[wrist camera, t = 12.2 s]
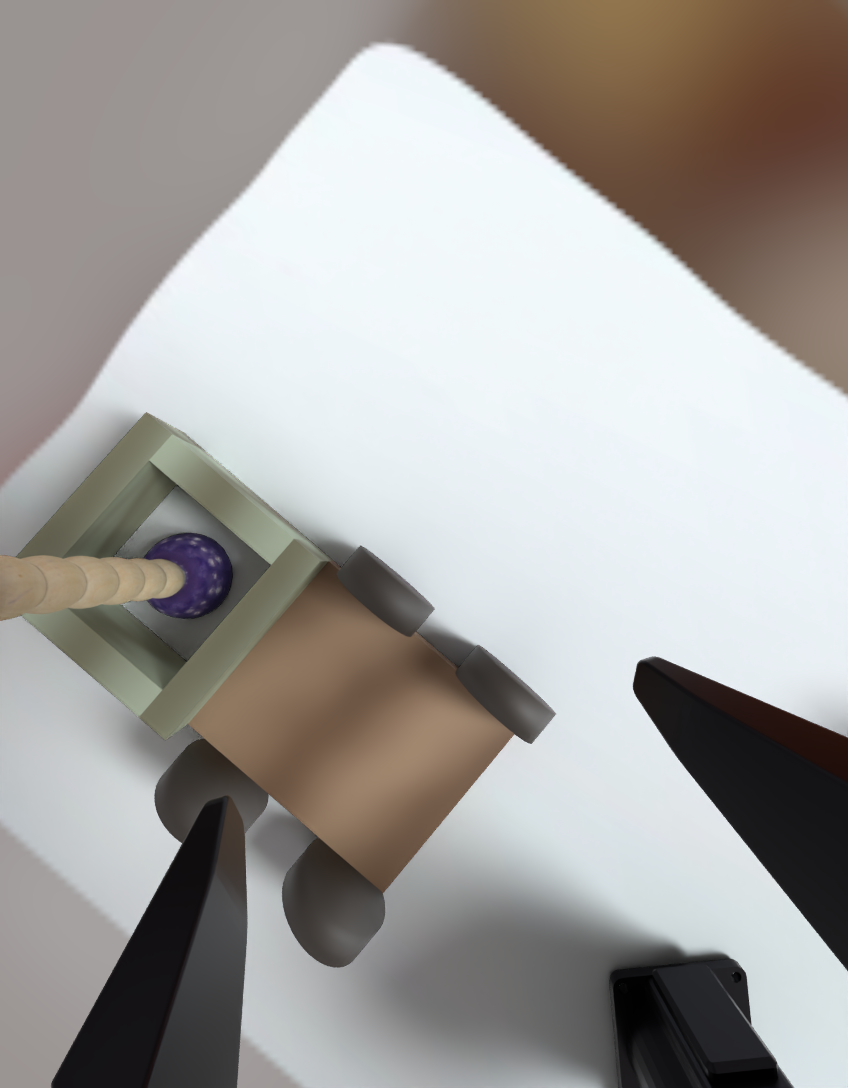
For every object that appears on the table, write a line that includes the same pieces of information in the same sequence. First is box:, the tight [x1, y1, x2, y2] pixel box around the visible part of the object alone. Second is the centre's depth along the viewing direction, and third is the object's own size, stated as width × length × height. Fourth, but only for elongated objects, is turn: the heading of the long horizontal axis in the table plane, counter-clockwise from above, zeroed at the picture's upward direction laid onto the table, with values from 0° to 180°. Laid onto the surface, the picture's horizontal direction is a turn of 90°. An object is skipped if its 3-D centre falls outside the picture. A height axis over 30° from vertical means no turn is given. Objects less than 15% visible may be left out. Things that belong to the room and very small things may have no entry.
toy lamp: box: [0, 533, 232, 621], centre depth 13 cm, size 5×5×17 cm
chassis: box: [15, 412, 556, 967], centre depth 19 cm, size 22×13×4 cm, turn 50°
